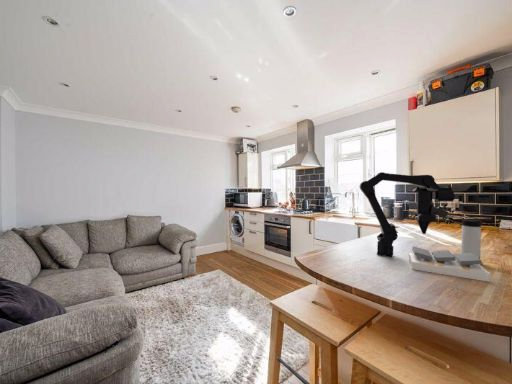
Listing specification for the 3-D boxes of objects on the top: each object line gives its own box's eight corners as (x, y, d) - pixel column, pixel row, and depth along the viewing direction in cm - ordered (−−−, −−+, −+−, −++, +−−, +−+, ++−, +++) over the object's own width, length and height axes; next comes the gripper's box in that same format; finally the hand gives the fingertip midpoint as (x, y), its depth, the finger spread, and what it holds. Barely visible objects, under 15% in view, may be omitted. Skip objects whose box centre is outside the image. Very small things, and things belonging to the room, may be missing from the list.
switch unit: (411, 268, 90) (412, 259, 89) (408, 258, 102) (408, 250, 102) (490, 281, 77) (490, 270, 77) (475, 268, 90) (475, 258, 90)
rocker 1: (414, 255, 92) (415, 252, 92) (411, 248, 101) (412, 246, 101) (431, 260, 89) (432, 257, 89) (427, 253, 98) (428, 250, 98)
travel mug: (485, 264, 95) (486, 219, 94) (467, 263, 96) (468, 219, 95) (473, 260, 101) (474, 217, 100) (457, 259, 102) (458, 217, 101)
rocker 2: (436, 261, 88) (435, 257, 88) (431, 253, 97) (431, 250, 97) (455, 260, 85) (455, 257, 85) (449, 253, 94) (448, 250, 94)
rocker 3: (461, 264, 84) (460, 261, 84) (454, 257, 93) (453, 253, 94) (482, 263, 81) (481, 260, 81) (472, 256, 90) (471, 252, 90)
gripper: (452, 203, 90) (451, 240, 90) (442, 200, 106) (441, 232, 106) (419, 202, 96) (418, 236, 96) (414, 200, 111) (413, 229, 112)
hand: (423, 233), depth 102 cm, fingers closed
